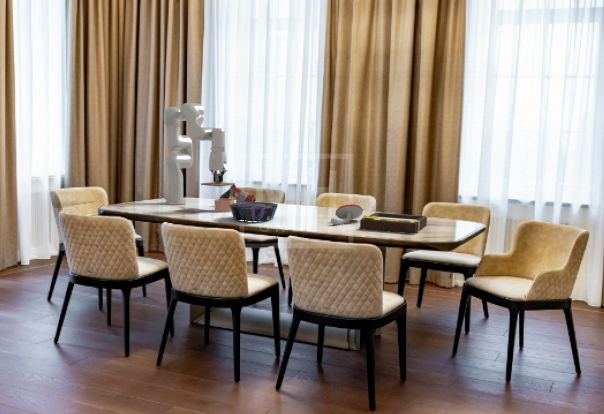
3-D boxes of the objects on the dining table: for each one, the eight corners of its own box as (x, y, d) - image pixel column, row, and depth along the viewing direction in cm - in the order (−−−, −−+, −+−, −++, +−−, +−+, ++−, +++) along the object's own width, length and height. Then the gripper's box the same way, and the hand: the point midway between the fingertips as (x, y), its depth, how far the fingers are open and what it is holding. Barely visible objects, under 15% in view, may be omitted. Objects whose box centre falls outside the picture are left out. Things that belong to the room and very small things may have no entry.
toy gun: (246, 220, 400) (257, 198, 397) (216, 203, 402) (226, 181, 399) (248, 218, 405) (259, 197, 402) (218, 202, 407) (228, 181, 404)
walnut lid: (200, 184, 377) (200, 173, 376) (216, 183, 389) (216, 172, 388) (219, 186, 369) (219, 175, 369) (235, 184, 381) (235, 173, 380)
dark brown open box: (416, 221, 321) (357, 216, 331) (416, 234, 321) (357, 229, 332) (428, 214, 346) (372, 210, 357) (427, 226, 347) (372, 222, 358)
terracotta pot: (210, 211, 380) (210, 199, 379) (223, 209, 389) (223, 198, 389) (225, 213, 374) (225, 201, 373) (237, 211, 384) (237, 199, 383)
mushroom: (316, 222, 349) (316, 203, 348) (349, 219, 366) (350, 201, 365) (333, 226, 340) (334, 206, 339) (367, 222, 357) (367, 203, 356)
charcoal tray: (172, 212, 377) (172, 211, 377) (191, 209, 390) (191, 208, 390) (193, 214, 368) (193, 213, 368) (212, 211, 382) (212, 210, 382)
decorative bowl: (219, 222, 357) (218, 204, 355) (257, 213, 376) (256, 196, 374) (251, 228, 339) (250, 209, 337) (289, 219, 358) (288, 201, 356)
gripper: (202, 149, 378) (203, 181, 380) (224, 150, 369) (224, 183, 371) (211, 149, 384) (211, 180, 386) (233, 150, 375) (233, 182, 377)
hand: (218, 181), depth 379 cm, fingers closed on walnut lid, 3 cm apart
